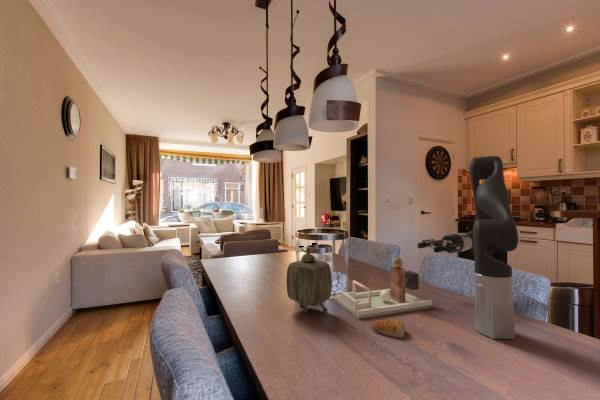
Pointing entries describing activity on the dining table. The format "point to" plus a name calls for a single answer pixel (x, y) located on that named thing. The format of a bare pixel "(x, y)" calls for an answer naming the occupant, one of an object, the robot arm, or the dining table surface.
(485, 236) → the robot arm
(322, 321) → the dining table surface
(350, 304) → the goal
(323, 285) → the tabletop clock
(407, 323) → the dining table surface
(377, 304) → the pitch
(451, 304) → the dining table surface
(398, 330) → the pastry
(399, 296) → the striker
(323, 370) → the dining table surface
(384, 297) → the ball
